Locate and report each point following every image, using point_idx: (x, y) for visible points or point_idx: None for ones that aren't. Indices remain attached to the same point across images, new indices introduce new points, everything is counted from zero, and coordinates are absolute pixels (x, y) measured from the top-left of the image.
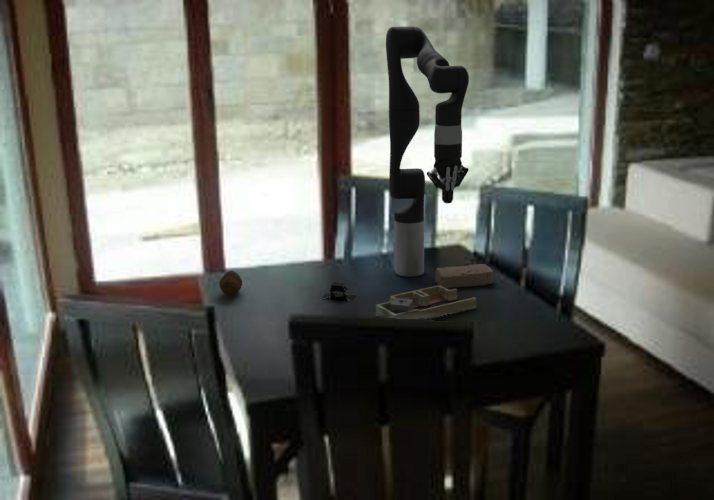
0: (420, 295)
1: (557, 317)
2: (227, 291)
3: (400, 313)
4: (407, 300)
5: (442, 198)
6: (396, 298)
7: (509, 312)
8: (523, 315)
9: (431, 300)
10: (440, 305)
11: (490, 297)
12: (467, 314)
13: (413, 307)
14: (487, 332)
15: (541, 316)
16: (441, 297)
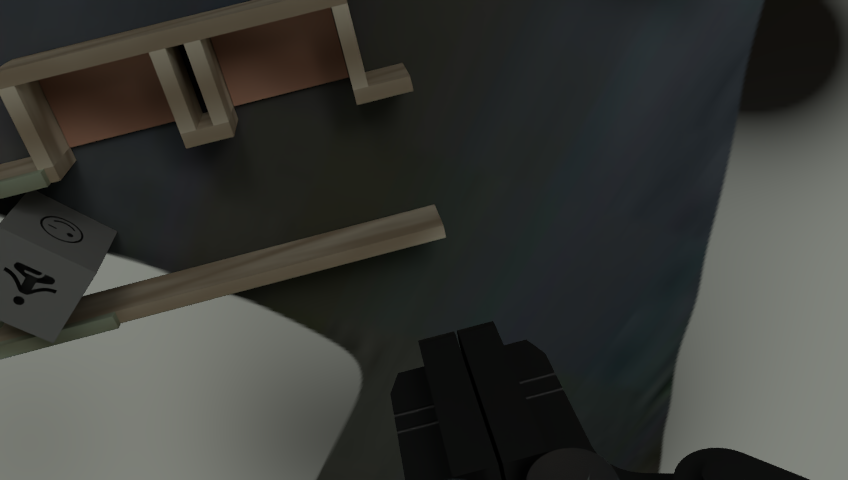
0: (181, 120)
1: (667, 375)
2: None
3: (14, 349)
4: (62, 275)
5: (394, 415)
6: (2, 233)
7: (541, 293)
8: (571, 332)
9: (265, 61)
10: (244, 280)
11: (566, 106)
12: (369, 270)
13: (142, 128)
14: (366, 438)
15: (624, 355)
16: (333, 35)
